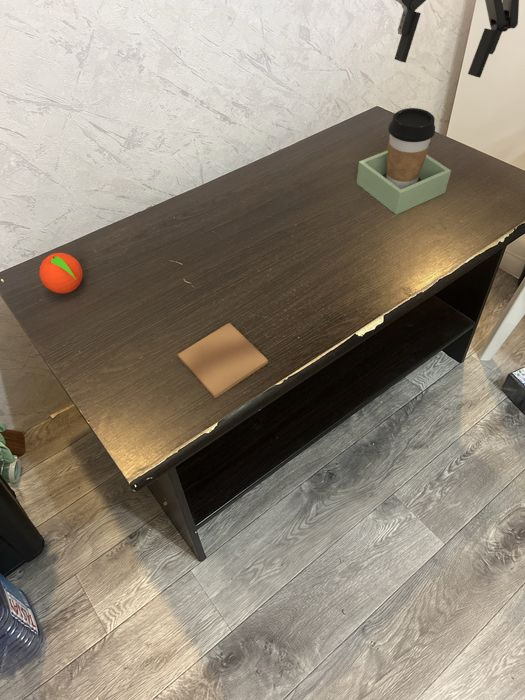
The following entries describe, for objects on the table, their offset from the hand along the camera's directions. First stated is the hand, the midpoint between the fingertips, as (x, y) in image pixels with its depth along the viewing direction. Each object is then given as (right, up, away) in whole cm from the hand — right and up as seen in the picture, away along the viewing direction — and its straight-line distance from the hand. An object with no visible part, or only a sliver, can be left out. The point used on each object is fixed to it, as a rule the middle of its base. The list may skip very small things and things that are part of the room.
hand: (437, 68), depth 80 cm
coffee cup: (0, -12, +22) cm, 25 cm away
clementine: (-62, -34, +8) cm, 72 cm away
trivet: (-34, -47, -3) cm, 58 cm away
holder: (0, -12, +22) cm, 25 cm away
